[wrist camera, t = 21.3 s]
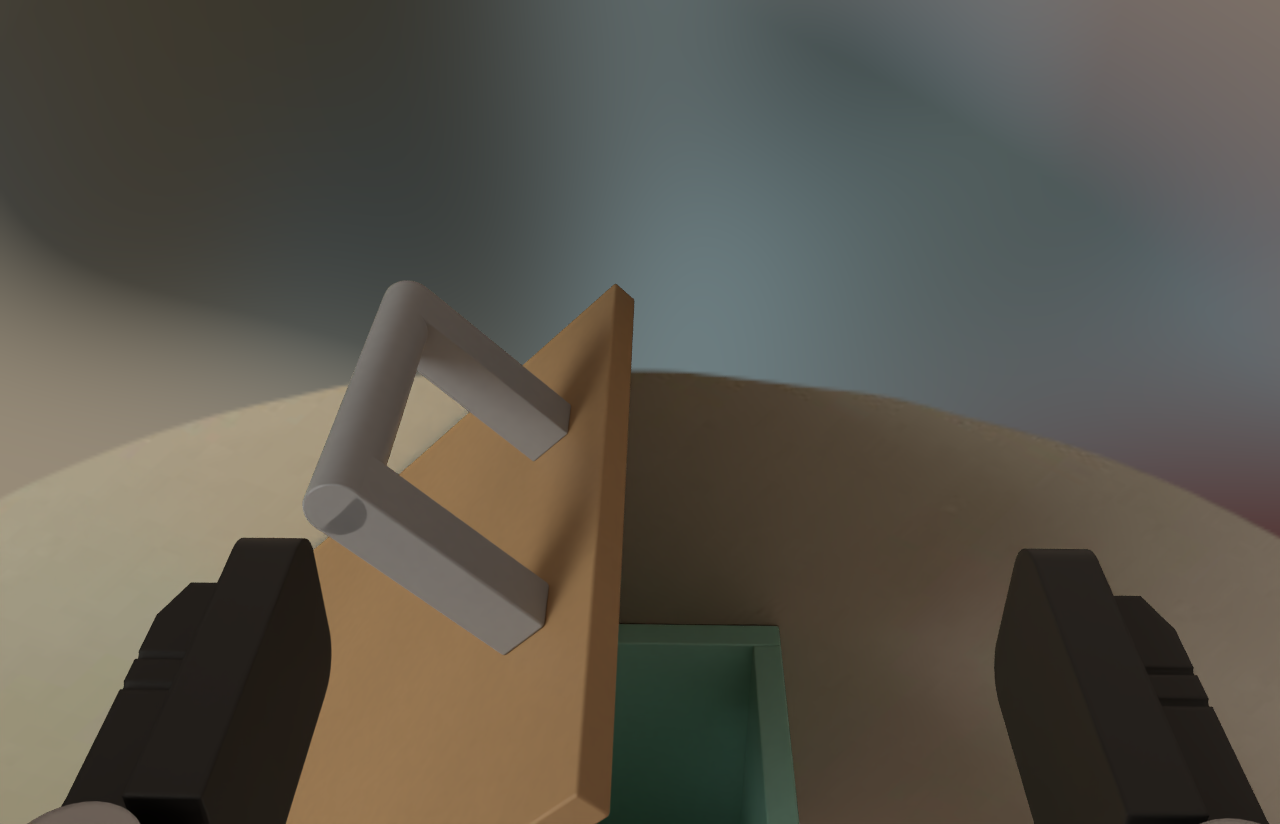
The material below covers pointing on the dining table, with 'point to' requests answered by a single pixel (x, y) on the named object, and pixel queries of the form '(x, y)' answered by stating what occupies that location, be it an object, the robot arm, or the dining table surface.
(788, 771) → the green cabinet
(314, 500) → the wooden cabinet door
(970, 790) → the dining table surface
